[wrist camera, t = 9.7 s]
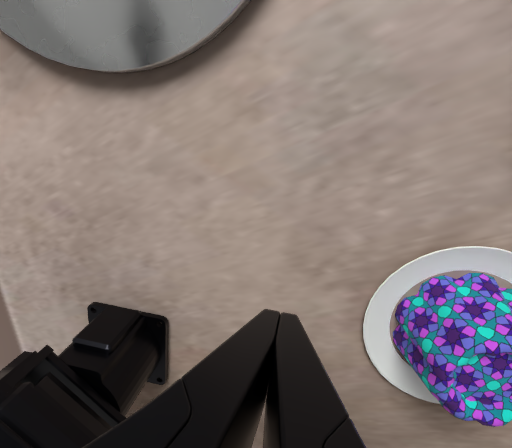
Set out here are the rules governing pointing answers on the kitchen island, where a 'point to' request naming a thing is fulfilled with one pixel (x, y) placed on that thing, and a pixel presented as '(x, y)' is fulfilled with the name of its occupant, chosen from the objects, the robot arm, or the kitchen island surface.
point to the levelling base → (116, 30)
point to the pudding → (448, 333)
